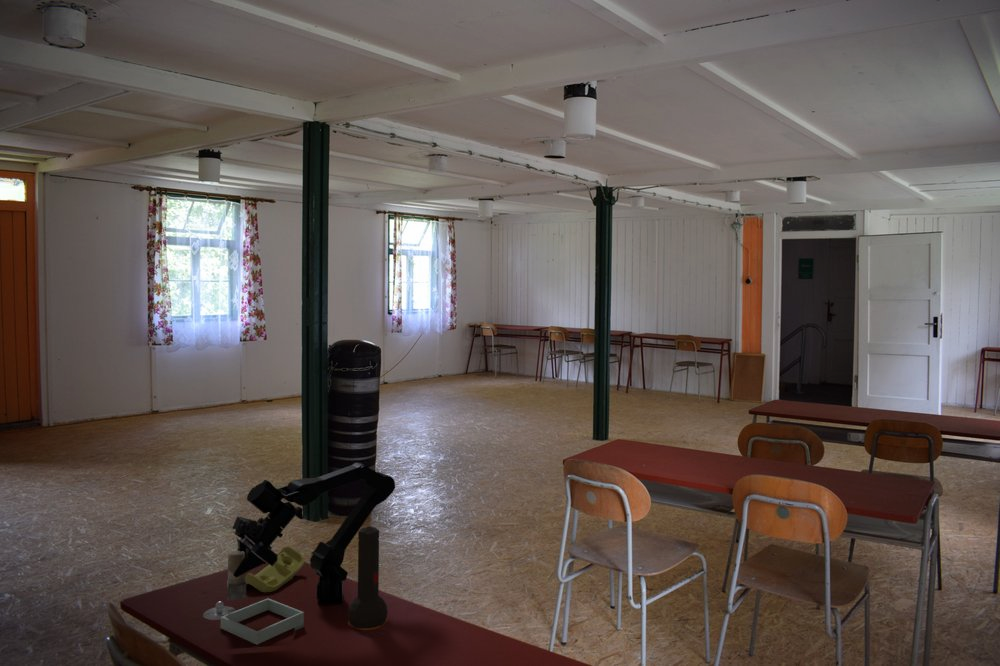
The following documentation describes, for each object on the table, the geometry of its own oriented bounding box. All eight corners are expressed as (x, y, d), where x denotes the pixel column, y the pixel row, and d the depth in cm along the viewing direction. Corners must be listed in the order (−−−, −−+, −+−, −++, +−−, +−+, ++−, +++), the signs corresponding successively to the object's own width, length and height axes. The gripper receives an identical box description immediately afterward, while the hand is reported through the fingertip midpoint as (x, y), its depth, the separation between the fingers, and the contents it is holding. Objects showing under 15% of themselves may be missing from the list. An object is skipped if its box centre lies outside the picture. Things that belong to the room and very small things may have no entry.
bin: (267, 612, 192) (268, 598, 191) (303, 626, 184) (303, 612, 183) (220, 631, 180) (220, 617, 180) (256, 648, 172) (256, 632, 172)
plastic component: (273, 589, 201) (244, 570, 203) (264, 610, 203) (235, 591, 205) (310, 559, 220) (283, 542, 222) (301, 578, 222) (275, 562, 223)
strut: (245, 591, 187) (245, 549, 186) (246, 598, 183) (245, 555, 182) (227, 593, 185) (226, 551, 184) (227, 600, 181) (227, 557, 180)
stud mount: (238, 609, 193) (238, 594, 193) (232, 622, 185) (232, 607, 185) (206, 610, 192) (206, 596, 191) (199, 624, 184) (199, 609, 183)
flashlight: (340, 622, 186) (368, 633, 181) (341, 527, 185) (369, 535, 180) (367, 609, 195) (394, 618, 189) (368, 518, 193) (396, 524, 188)
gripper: (242, 496, 193) (198, 545, 187) (264, 514, 177) (218, 567, 172) (271, 520, 198) (230, 568, 192) (296, 539, 183) (252, 592, 177)
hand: (232, 573), depth 183 cm, fingers closed on strut, 4 cm apart
